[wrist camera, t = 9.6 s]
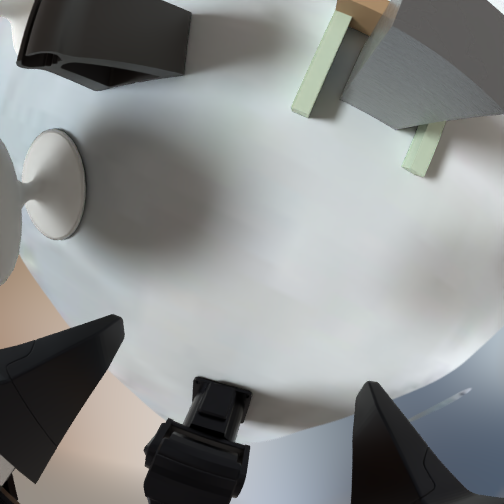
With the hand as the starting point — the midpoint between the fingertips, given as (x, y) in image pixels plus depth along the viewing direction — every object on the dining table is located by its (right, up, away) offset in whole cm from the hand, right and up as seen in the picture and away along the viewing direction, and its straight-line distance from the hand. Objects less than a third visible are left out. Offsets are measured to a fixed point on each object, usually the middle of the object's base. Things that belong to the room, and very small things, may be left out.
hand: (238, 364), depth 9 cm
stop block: (+9, +15, +7) cm, 19 cm away
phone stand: (-9, +21, +8) cm, 24 cm away
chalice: (-21, +11, +14) cm, 27 cm away
